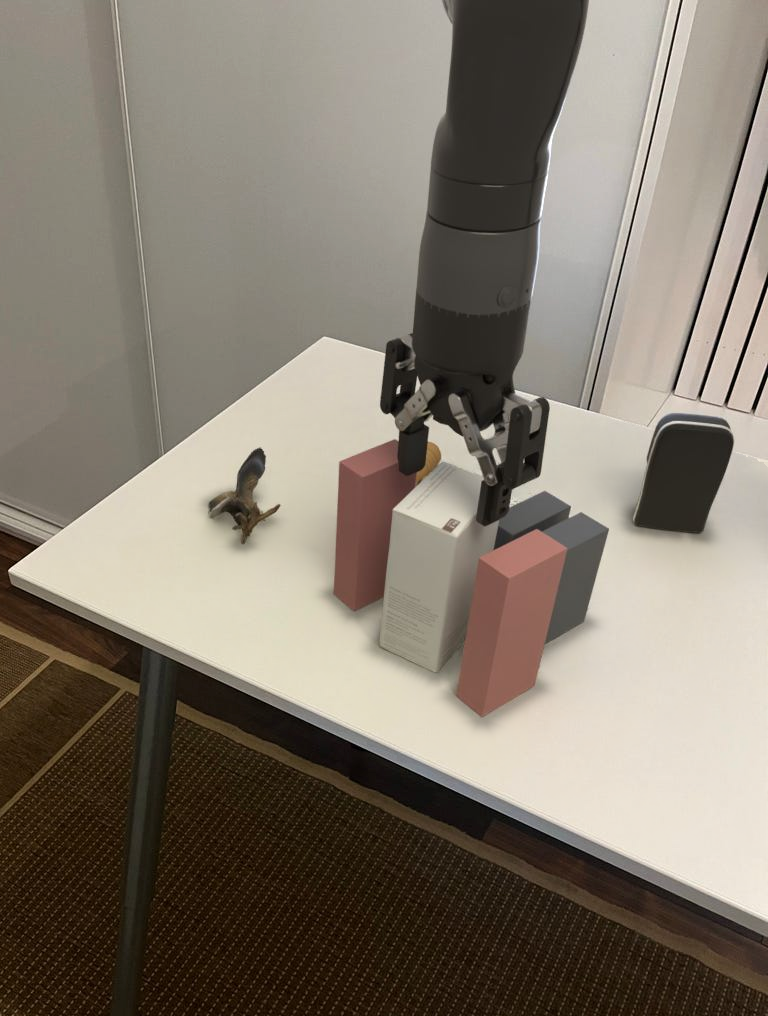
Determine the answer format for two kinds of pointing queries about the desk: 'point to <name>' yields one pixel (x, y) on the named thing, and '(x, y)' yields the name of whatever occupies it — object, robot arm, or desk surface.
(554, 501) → the grey book
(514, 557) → the rose book
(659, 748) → the desk surface
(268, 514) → the eagle figurine
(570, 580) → the grey book
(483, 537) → the cosmetic box
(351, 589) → the rose book
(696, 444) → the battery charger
